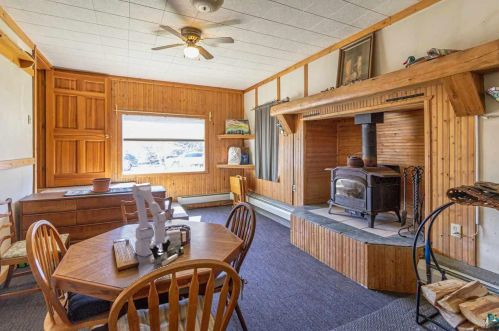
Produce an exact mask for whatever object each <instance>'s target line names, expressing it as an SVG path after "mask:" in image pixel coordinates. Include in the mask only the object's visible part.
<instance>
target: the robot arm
mask: <svg viewBox="0 0 499 331" xmlns="http://www.w3.org/2000/svg"><path fill="white" fill-rule="evenodd" d="M131 192H132V193H131V194H132V198H133V199H135V206H136V210H137V217H138V224H139V225H138V226H136V228H135V239H136V240H135V243H134V246H135V247H134V250H135V251H134V253H136V254H137V256H140V257H141V256H142V257H147V256H150V255H151V254H152V256H153V257H154V259H157V258H158V251H159V250H160V247H159V246H160V245H161V246H162V250H163V251H167V252H168V247H169V245H170V243H171V241H169V240H170V237H168V236H167V237H166V222H167V220H168V214H167V213H166V212H165V211H164V210H162V209H161V206H160V205H159V203H158V202H156V200H155V198H154V197H153V194H152V185H151V184H150V182H146V183H139V184H135V183H134V184H133V185H132V188H131ZM145 201H146V202H147V204H148V210H149V212H150V213H151V215H152V222H153V225H152V224H150V223H149V220H148V215H147V214H148V213H147V209H146V202H145ZM153 238H154V241H152V240H153ZM136 254H135V255H136ZM153 257H152V258H153Z"/></svg>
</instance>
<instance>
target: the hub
mask: <svg viewBox="0 0 499 331" xmlns="http://www.w3.org/2000/svg"><path fill="white" fill-rule="evenodd" d="M167 258H168V250H167V251H163V249H159V250H158V258H157V259H154V262H153V264H157V265H161V266H162V261H164V260H166V259H167Z"/></svg>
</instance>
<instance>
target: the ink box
mask: <svg viewBox="0 0 499 331" xmlns="http://www.w3.org/2000/svg"><path fill="white" fill-rule="evenodd" d="M167 236H168V237H170V240H169V241H171V243H170V245H169V247H168V250H167V252H169V250H170V249H171V248H173V247H175V246H178V245H180V246H181V247H182V243H181V242H182V241H181V240H182V237H181V230H180V229H173V230H165V237H167Z"/></svg>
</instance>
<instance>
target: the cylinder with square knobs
mask: <svg viewBox="0 0 499 331" xmlns="http://www.w3.org/2000/svg"><path fill="white" fill-rule="evenodd" d="M184 252H185V250H184V247H183V246H182V245H181V246H180V245H178V246H175V247H173V248H171V249H170V250H169V251H168V255H170V256H173V255H175V254H178V256H179V255H180V254H182V253H184Z"/></svg>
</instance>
